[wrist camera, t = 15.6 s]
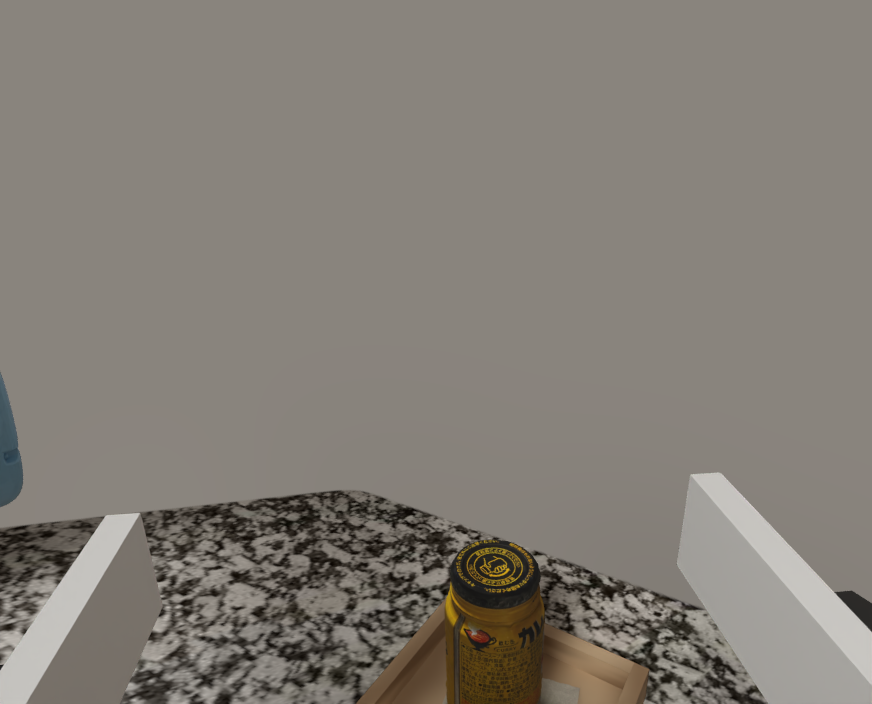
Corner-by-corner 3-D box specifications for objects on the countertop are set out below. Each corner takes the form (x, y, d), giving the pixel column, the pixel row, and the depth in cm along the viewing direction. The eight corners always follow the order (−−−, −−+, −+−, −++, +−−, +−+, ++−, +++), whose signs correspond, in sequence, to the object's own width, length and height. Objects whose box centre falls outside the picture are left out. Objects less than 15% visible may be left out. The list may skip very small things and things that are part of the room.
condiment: (460, 657, 44) (458, 519, 40) (579, 690, 42) (591, 545, 37) (424, 749, 38) (417, 597, 34) (562, 795, 35) (574, 636, 31)
